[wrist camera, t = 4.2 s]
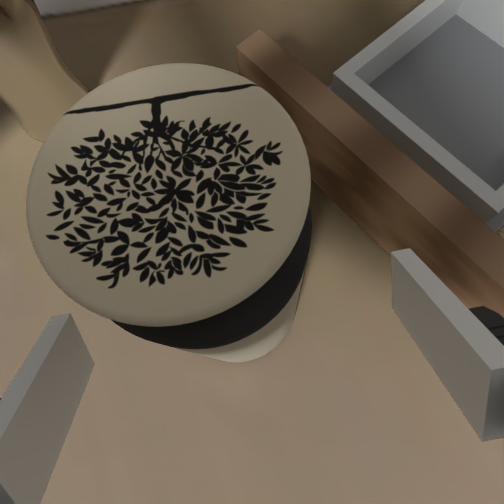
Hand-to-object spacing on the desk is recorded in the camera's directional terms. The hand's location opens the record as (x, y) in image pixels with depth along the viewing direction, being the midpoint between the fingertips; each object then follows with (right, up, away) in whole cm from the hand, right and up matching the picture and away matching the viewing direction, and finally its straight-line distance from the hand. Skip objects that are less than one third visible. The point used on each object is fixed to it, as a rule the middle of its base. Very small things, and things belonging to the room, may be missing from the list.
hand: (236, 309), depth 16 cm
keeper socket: (+16, +13, +14) cm, 25 cm away
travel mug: (0, -1, +11) cm, 11 cm away
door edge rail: (+8, +6, +12) cm, 16 cm away
